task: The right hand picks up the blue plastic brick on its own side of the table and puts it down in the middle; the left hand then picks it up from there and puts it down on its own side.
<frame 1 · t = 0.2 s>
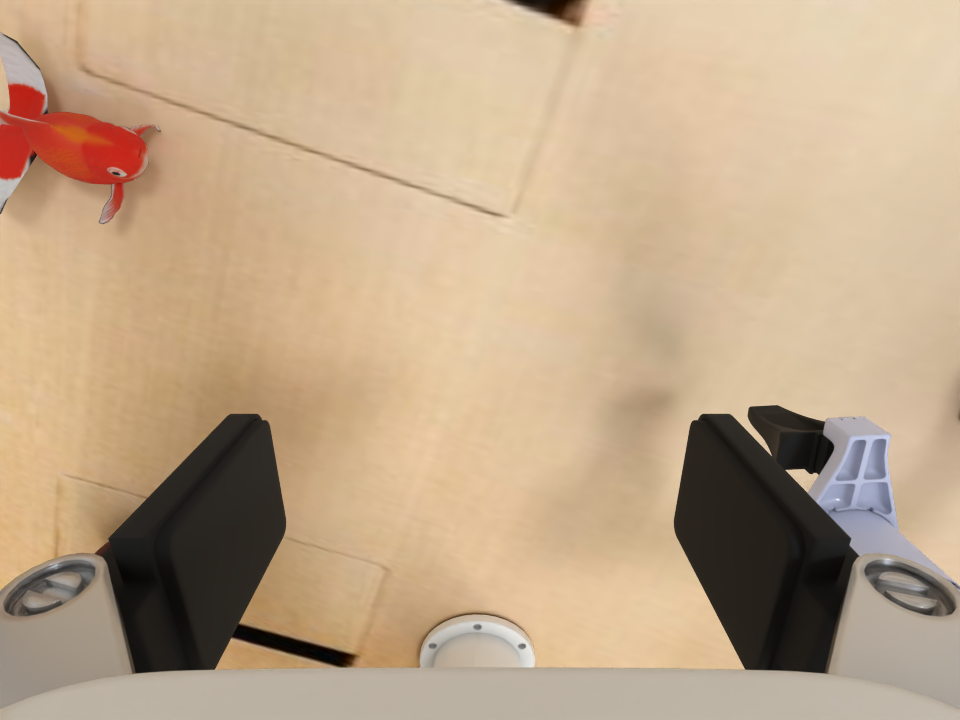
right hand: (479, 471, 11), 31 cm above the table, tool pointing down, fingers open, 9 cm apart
fish: (83, 146, 38), on the table
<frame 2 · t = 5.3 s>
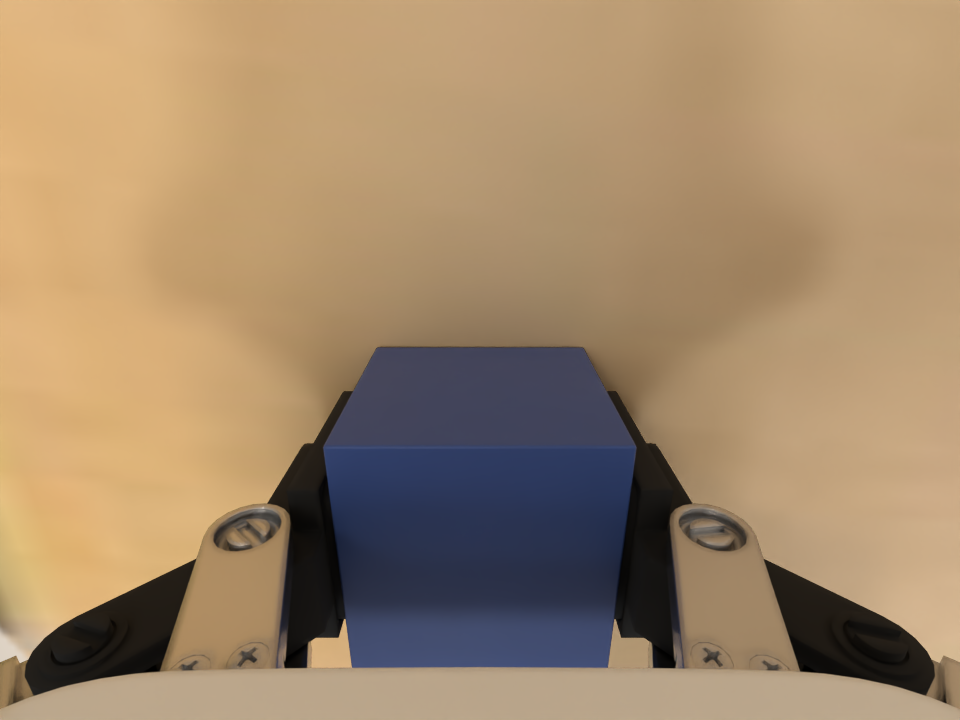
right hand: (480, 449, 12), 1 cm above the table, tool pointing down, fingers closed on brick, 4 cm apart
brick: (479, 439, 13), on the table, touching right hand
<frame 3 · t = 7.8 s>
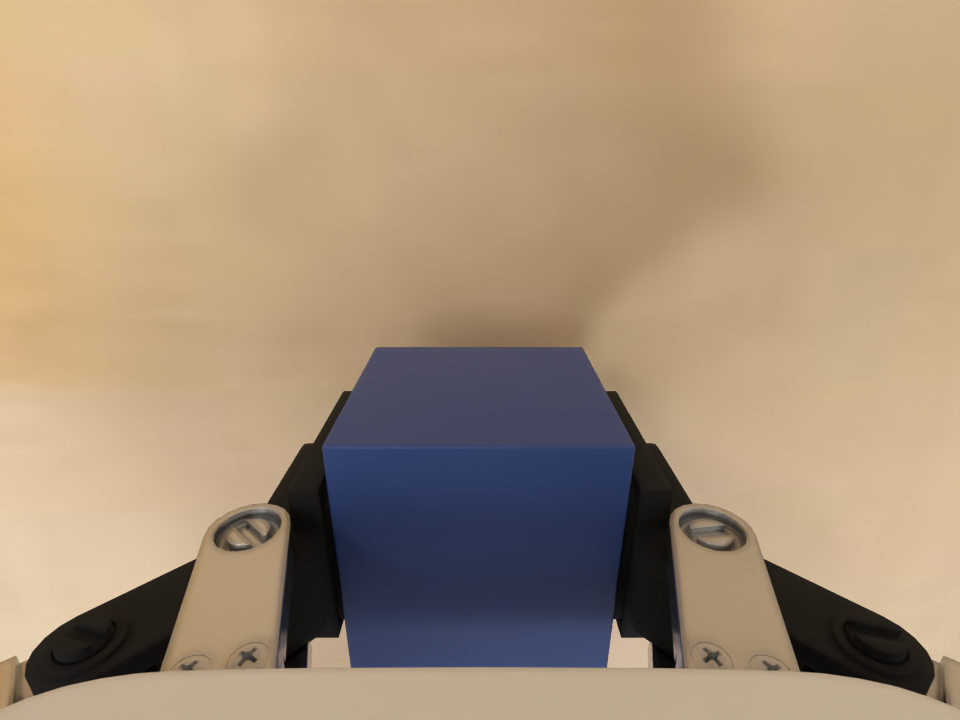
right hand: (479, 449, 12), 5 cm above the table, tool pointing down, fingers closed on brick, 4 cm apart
brick: (479, 439, 13), point 4 cm above the table, touching right hand
when the right hand's fingers open (2 cm above the table, at t = 10.4 s): brick drops 1 cm, on the table.
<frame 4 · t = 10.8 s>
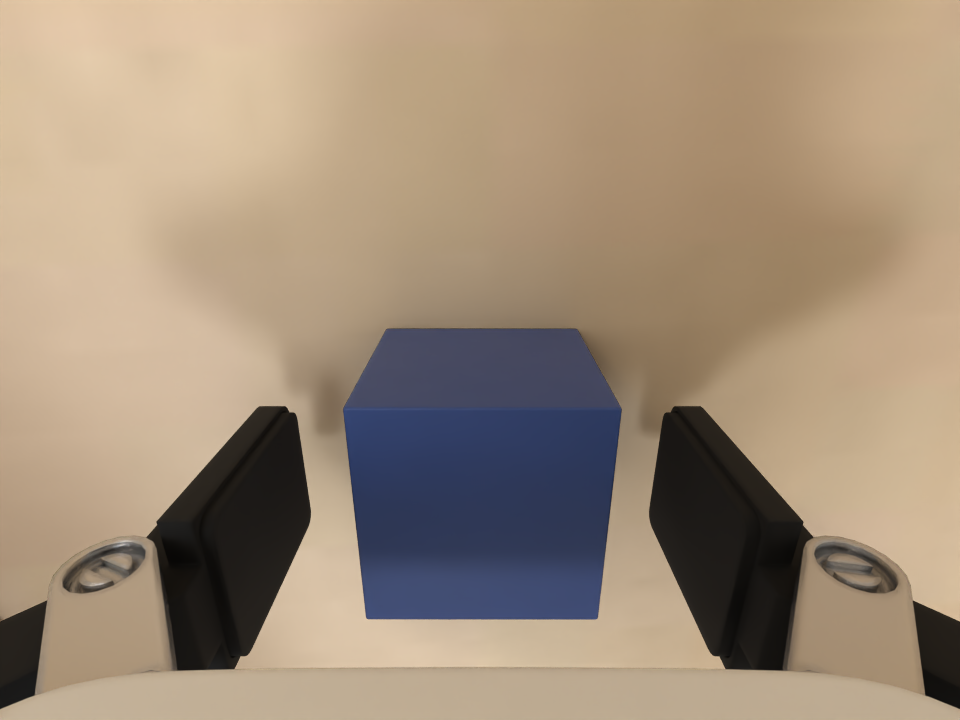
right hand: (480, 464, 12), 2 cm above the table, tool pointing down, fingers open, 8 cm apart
brick: (481, 415, 14), on the table
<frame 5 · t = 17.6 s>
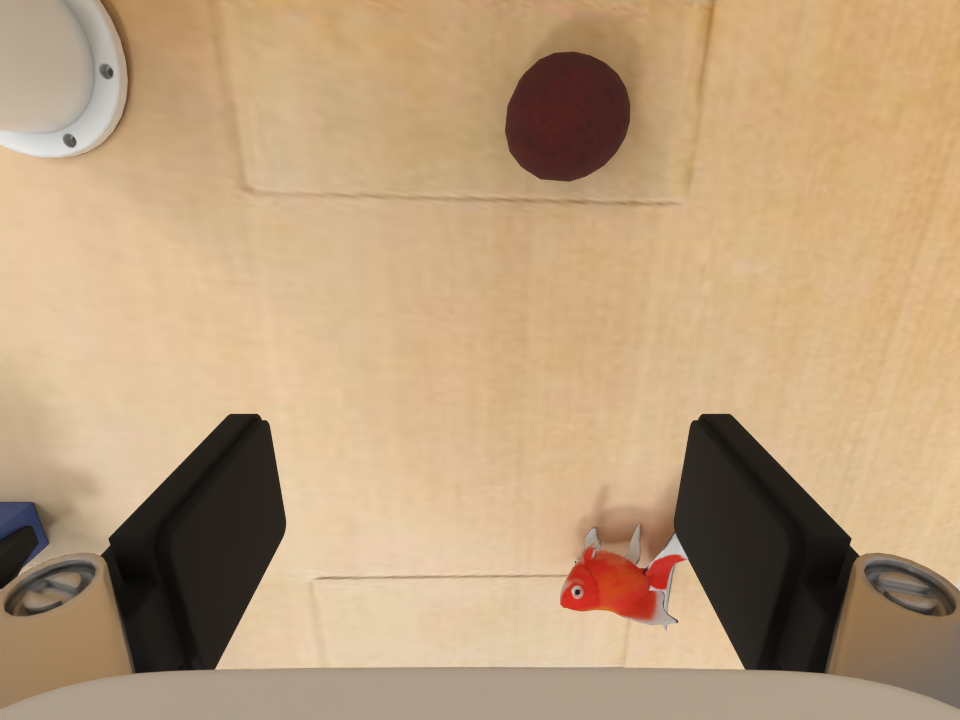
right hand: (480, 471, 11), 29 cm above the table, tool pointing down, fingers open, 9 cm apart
potato: (556, 122, 36), on the table
brick: (15, 523, 48), on the table, touching left hand
fish: (633, 535, 49), on the table
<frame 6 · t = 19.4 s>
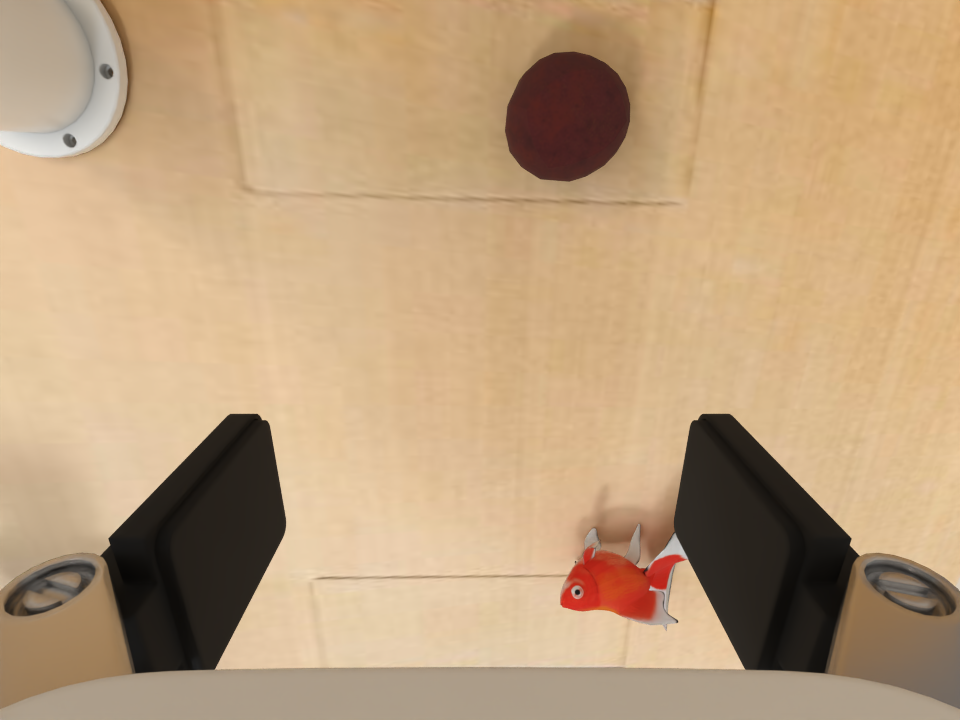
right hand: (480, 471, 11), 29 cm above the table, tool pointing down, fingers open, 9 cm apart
potato: (556, 122, 36), on the table
fish: (633, 535, 49), on the table
when the left hand's fingers open (2 cm above the table, at t = 21.4 s): brick drops 1 cm, on the table.
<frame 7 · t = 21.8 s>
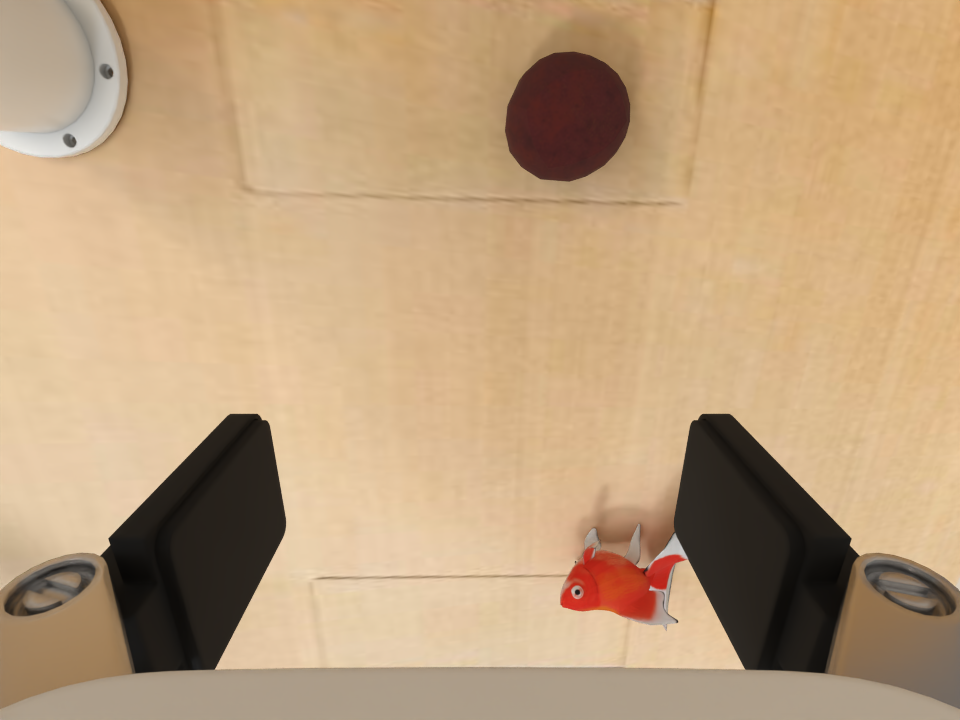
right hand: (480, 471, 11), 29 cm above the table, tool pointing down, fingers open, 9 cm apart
potato: (556, 122, 36), on the table
fish: (633, 535, 49), on the table
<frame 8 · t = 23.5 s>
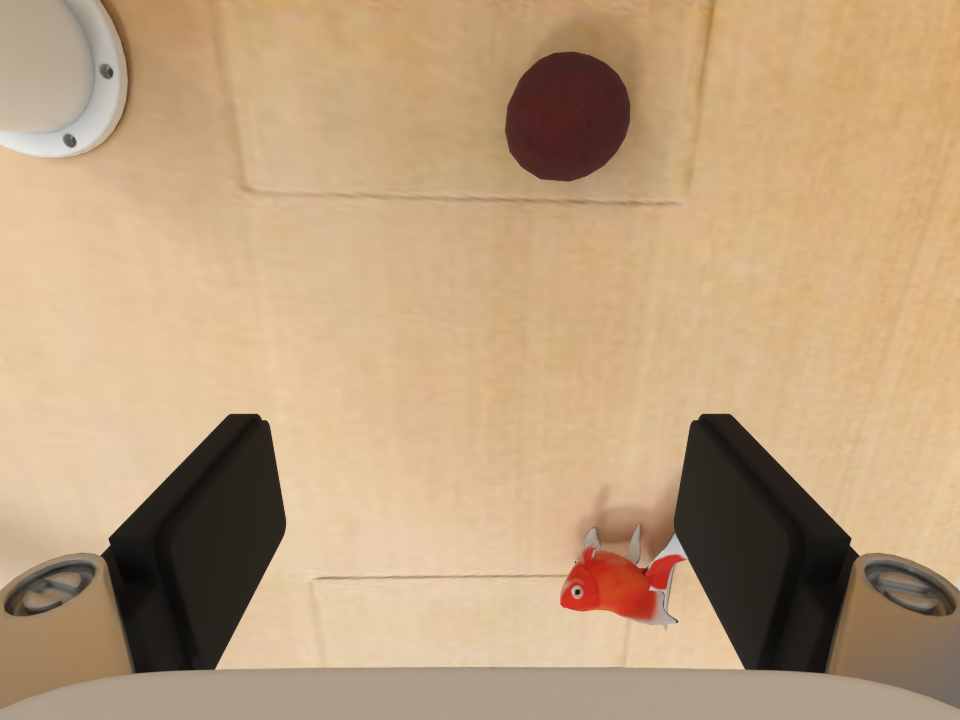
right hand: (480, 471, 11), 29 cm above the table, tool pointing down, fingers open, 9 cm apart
potato: (556, 122, 36), on the table
fish: (633, 535, 49), on the table
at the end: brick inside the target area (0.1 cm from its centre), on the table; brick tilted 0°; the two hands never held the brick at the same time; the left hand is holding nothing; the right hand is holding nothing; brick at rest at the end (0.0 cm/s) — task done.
